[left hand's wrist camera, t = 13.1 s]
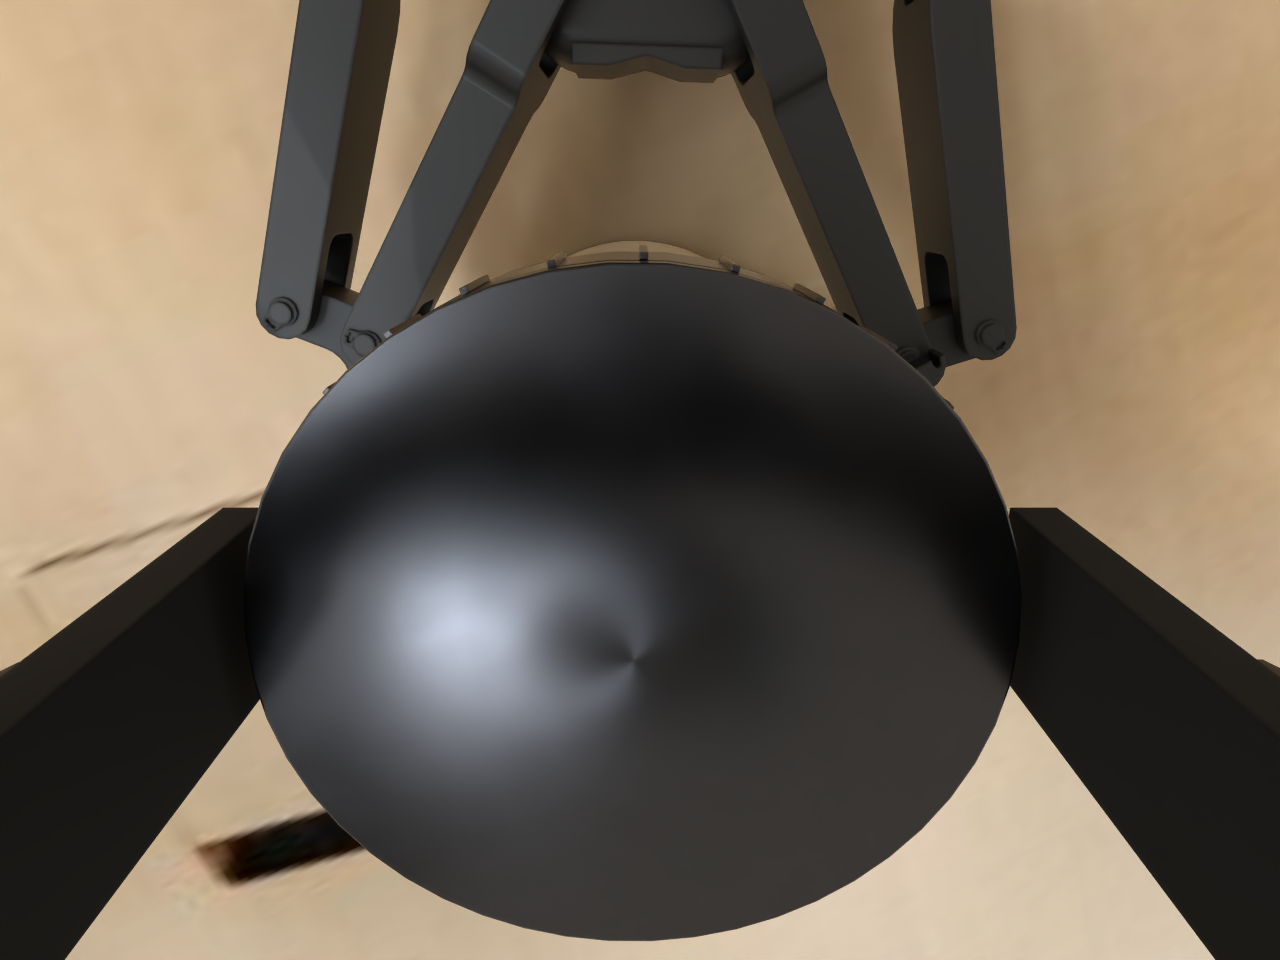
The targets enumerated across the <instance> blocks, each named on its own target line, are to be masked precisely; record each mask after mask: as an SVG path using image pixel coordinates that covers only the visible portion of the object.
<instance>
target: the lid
mask: <svg viewBox="0 0 1280 960" xmlns="http://www.w3.org/2000/svg"><path fill="white" fill-rule="evenodd" d="M459 291H460V293H461V294H460V295H459V296H457V297H455V298H453V299H451V300H450V301H448V302H446V303H444V304H443V305H441V306H439V307H437V308H435V309H434V310H432V311H430V312H429V313H427V314H425V315H424V316H421V315H420V314H417V315H415V316H413V317H412V318H410V319H408V320H406V321H404V322H402V323H401V324H399V325H397V326H395V327H393V328H391V329H389V330H388V331H386V332H385V333H384V334H383V335H384V336H385V338H386V339H385V340H384V341H382V342H381V343H380V344H379V345H377V346H376V347H375V348H374V349H373V350H371V351H370V352H369V353H368V354H366V355H365V356H364V357H363V358H362V359H360V360H359V361H358V362H357V363H355V364H354V365H353V366H352V367H351V368H349V369H348V370H347V371H346V372H345V373H344V374H343V375H342V376H341V377H340V378H339V379H338V380H337V382H335V383H333V384H332V385H330V386H328V387H327V388H326V389H325V390H324V392H323V394H325V395H324V396H323V397H322V398H321V399H320V400H319V401H318V403H317V404H316V405H315V406H314V407H313V408H312V409H311V410H310V412H309V413H308V415H307V416H306V418H305V419H304V421H303V422H302V424H301V425H300V427H299V428H298V430H297V431H296V433H295V434H294V436H293V437H292V439H291V440H290V442H289V443H288V445H287V446H286V448H285V449H284V451H283V452H282V454H281V456H280V459H279V461H278V463H277V465H276V467H275V470H274V472H273V474H272V476H271V478H270V480H269V483H268V485H267V487H266V489H265V491H264V494H263V496H262V498H261V502H260V505H259V509H258V512H257V516H256V520H255V523H254V527H253V530H252V534H251V537H250V541H249V546H248V555H247V563H246V571H245V580H244V588H243V596H244V624H245V638H246V644H247V649H248V654H249V660H250V665H251V670H252V676H253V680H254V683H255V686H256V689H257V691H258V694H259V697H260V700H261V703H262V706H263V709H264V712H265V715H266V718H267V720H268V722H269V724H270V726H271V728H272V730H273V732H274V734H275V736H276V738H277V740H278V742H279V744H280V746H281V748H282V750H283V752H284V754H285V756H286V758H287V759H288V761H289V762H290V764H291V765H292V767H293V768H294V770H295V771H296V772H297V774H298V775H299V777H300V778H301V780H302V781H303V783H304V784H305V786H306V787H307V788H308V790H309V791H310V793H311V794H312V795H313V796H314V797H315V799H316V800H317V801H318V802H319V803H320V804H321V805H322V806H323V808H324V809H325V810H326V811H327V812H328V813H329V814H330V815H331V817H332V818H333V819H334V820H335V821H336V822H337V823H338V824H339V826H341V827H342V828H343V829H344V830H345V831H346V832H347V833H348V834H350V835H351V836H352V837H353V838H354V839H355V840H356V841H357V842H359V843H360V844H361V845H362V846H363V847H364V848H365V849H367V850H368V851H369V852H370V853H371V854H372V855H374V856H375V857H377V858H378V859H380V860H381V861H382V862H384V863H385V864H387V865H388V866H390V867H391V868H392V869H394V870H395V871H397V872H398V873H399V874H401V875H402V876H404V877H405V878H407V879H409V880H410V881H412V882H414V883H416V884H418V885H419V886H421V887H423V888H425V889H427V890H429V891H430V892H432V893H434V894H436V895H438V896H439V897H441V898H443V899H445V900H448V901H450V902H452V903H455V904H457V905H460V906H462V907H464V908H467V909H469V910H471V911H474V912H476V913H479V914H481V915H483V916H487V917H490V918H493V919H496V920H500V921H503V922H506V923H509V924H513V925H516V926H519V927H523V928H527V929H532V930H537V931H542V932H547V933H552V934H557V935H561V936H567V937H577V938H586V939H596V940H606V941H657V940H668V939H679V938H690V937H698V936H703V935H708V934H713V933H719V932H724V931H729V930H734V929H739V928H742V927H745V926H749V925H752V924H756V923H759V922H762V921H766V920H769V919H773V918H776V917H779V916H781V915H784V914H786V913H789V912H791V911H794V910H796V909H798V908H801V907H803V906H806V905H808V904H811V903H813V902H816V901H818V900H820V899H822V898H823V897H825V896H827V895H829V894H831V893H833V892H835V891H837V890H838V889H840V888H842V887H844V886H846V885H848V884H850V883H852V882H853V881H855V880H857V879H858V878H860V877H861V876H862V875H864V874H865V873H867V872H868V871H870V870H871V869H873V868H874V867H876V866H877V865H879V864H880V863H882V862H883V861H884V860H886V859H887V858H889V857H890V856H891V855H893V854H894V853H895V852H896V851H897V850H898V849H900V848H901V847H902V846H903V845H904V844H905V843H906V842H908V841H909V840H910V839H911V838H912V837H913V836H915V835H916V834H917V833H918V832H919V831H920V830H922V829H923V827H924V826H925V825H926V824H927V823H928V822H929V821H930V820H931V819H932V818H933V817H934V815H935V814H936V813H937V812H938V811H939V810H940V809H941V808H942V807H943V806H944V805H945V803H946V802H947V801H948V800H949V799H950V798H951V797H952V795H953V794H954V792H955V791H956V790H957V788H958V787H959V785H960V784H961V783H962V781H963V780H964V778H965V777H966V776H967V774H968V773H969V771H970V770H971V769H972V767H973V766H974V764H975V763H976V761H977V759H978V757H979V755H980V753H981V751H982V750H983V748H984V746H985V744H986V742H987V740H988V738H989V736H990V735H991V733H992V731H993V729H994V727H995V725H996V722H997V719H998V717H999V714H1000V711H1001V709H1002V706H1003V703H1004V700H1005V698H1006V695H1007V692H1008V689H1009V687H1010V683H1011V679H1012V674H1013V669H1014V664H1015V660H1016V655H1017V650H1018V645H1019V637H1020V620H1021V603H1022V594H1021V583H1020V572H1019V562H1018V551H1017V547H1016V543H1015V539H1014V535H1013V531H1012V527H1011V523H1010V519H1009V515H1008V511H1007V508H1006V504H1005V502H1004V500H1003V497H1002V495H1001V493H1000V490H999V488H998V486H997V483H996V481H995V479H994V476H993V474H992V472H991V469H990V467H989V464H988V462H987V460H986V458H985V457H984V455H983V454H982V452H981V450H980V449H979V447H978V446H977V444H976V442H975V441H974V439H973V438H972V436H971V434H970V433H969V431H968V430H967V428H966V426H965V425H964V423H963V422H962V420H961V418H960V417H959V416H958V415H957V414H956V412H955V411H954V410H953V409H954V407H953V406H952V404H951V403H950V402H949V401H947V400H945V399H944V398H943V397H942V396H941V395H940V394H939V393H938V392H937V390H936V389H935V388H934V387H933V386H932V385H931V383H930V382H929V381H928V380H927V379H926V378H925V377H924V376H923V375H922V374H921V373H919V372H918V371H917V370H916V369H915V368H914V367H912V366H911V365H910V364H909V363H908V362H907V361H905V360H904V359H903V358H902V357H901V356H900V355H899V354H897V353H896V352H895V351H896V349H897V348H898V347H897V346H896V345H895V344H894V343H893V342H891V341H889V340H887V339H886V338H884V337H882V336H880V335H879V334H877V333H875V332H873V331H872V330H870V329H868V328H866V327H864V326H863V325H860V327H859V326H858V325H856V324H855V323H853V322H851V321H850V320H848V319H847V318H845V317H844V316H842V315H840V314H839V313H837V312H836V311H834V310H832V309H830V308H829V307H827V306H825V305H823V303H824V301H825V300H826V298H824V297H822V296H820V295H818V294H817V293H815V292H813V291H811V290H809V289H807V288H805V287H804V286H802V285H800V284H798V283H796V284H795V286H794V288H791V287H789V286H787V285H784V284H782V283H780V282H778V281H776V280H773V279H771V278H769V277H767V276H765V275H762V274H760V273H757V272H753V271H750V270H747V269H743V268H741V266H740V265H738V264H737V263H735V262H734V261H732V260H731V259H729V258H728V257H725V256H720V259H719V261H716V260H713V259H706V258H700V257H693V256H686V255H680V254H673V253H667V252H648V249H647V245H639V252H627V251H611V252H603V253H595V254H587V255H579V256H571V257H566V254H565V251H564V252H559V253H557V254H556V255H554V256H553V257H551V258H550V259H549V260H547V261H546V262H544V263H540V264H536V265H533V266H529V267H525V268H521V269H518V270H514V271H512V272H509V273H507V274H505V275H502V276H500V277H498V278H495V279H493V280H491V281H490V279H489V277H488V275H485V276H483V277H481V278H479V279H477V280H475V281H473V282H471V283H469V284H467V285H465V286H464V287H462V288H460V289H459Z"/></svg>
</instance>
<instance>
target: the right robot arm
mask: <svg viewBox="0 0 1280 960" xmlns="http://www.w3.org/2000/svg"><path fill="white" fill-rule="evenodd" d="M399 16H400V0H300V1H299V8H298V15H297V22H296V29H295V36H294V43H293V50H292V57H291V64H290V71H289V78H288V84H287V91H286V98H285V105H284V112H283V119H282V126H281V133H280V140H279V147H278V154H277V161H276V168H275V175H274V182H273V189H272V196H271V203H270V210H269V217H268V224H267V231H266V237H265V244H264V251H263V258H262V265H261V272H260V279H259V286H258V293H257V300H256V314H257V317H258V319H259V321H260V323H261V325H262V326H263V327H264V328H265V329H266V330H267V331H268V333H270V334H272V335H274V336H276V337H278V338H283V339H291V338H295V337H296V338H299V339H302V340H304V341H307V342H310V343H312V344H315V345H318V346H320V347H323V348H326V349H328V350H329V351H331V352H333V353H335V354H336V355H337V356H338V357H339V358H340V359H341V360H342V361H343V362H344V364H345V365H346V367H347V369H349V368H351V367H352V366H353V365H354V364H355V363H357V362H358V361H359V360H360V359H362V358H363V357H364V356H365V355H366V354H368V353H369V352H370V351H371V350H373V349H374V348H375V347H376V346H377V345H379V344H380V343H381V342H382V341H384V340H385V339H386V338H385V336H384V335H383V334H384V333H385V332H386V331H388V330H389V329H391V328H393V327H395V326H397V325H399V324H401V323H402V322H404V321H406V320H408V319H410V318H412V317H413V316H415V315H417V314H420V315H421V316H424V315H425V314H427V313H429V312H430V311H432V310H433V309H434V307H435V305H436V303H437V301H438V299H439V297H440V295H441V293H442V291H443V289H444V288H445V286H446V284H447V282H448V280H449V278H450V276H451V274H452V272H453V270H454V268H455V266H456V264H457V262H458V260H459V258H460V256H461V254H462V252H463V250H464V248H465V246H466V244H467V242H468V240H469V238H470V236H471V234H472V232H473V231H474V229H475V227H476V225H477V223H478V221H479V219H480V217H481V215H482V213H483V211H484V209H485V207H486V205H487V203H488V201H489V199H490V197H491V195H492V193H493V191H494V189H495V187H496V185H497V183H498V181H499V179H500V177H501V176H502V174H503V172H504V170H505V168H506V166H507V164H508V162H509V160H510V158H511V156H512V154H513V152H514V150H515V148H516V146H517V144H518V142H519V140H520V138H521V136H522V134H523V132H524V130H525V128H526V126H527V124H528V122H529V121H530V119H531V117H532V115H533V114H534V113H535V111H536V110H537V109H538V108H539V106H540V105H541V103H542V102H543V100H544V98H545V96H546V94H547V92H548V90H549V88H550V87H551V85H552V83H553V81H554V79H555V77H556V75H557V73H558V71H559V69H560V67H563V68H565V69H567V70H569V71H572V72H575V73H576V74H577V76H578V78H590V79H615V78H618V77H622V76H626V75H630V74H634V73H638V72H641V71H650V72H653V73H656V74H659V75H662V76H665V77H668V78H671V79H674V80H677V81H680V82H701V83H713V82H714V81H715V80H716V78H718V77H722V76H725V75H727V74H729V73H731V74H732V76H733V78H734V81H735V83H736V85H737V87H738V90H739V92H740V94H741V97H742V99H743V101H744V103H745V106H746V108H747V110H748V111H749V113H750V115H751V116H752V118H753V119H754V120H755V122H756V124H757V125H758V127H759V130H760V132H761V134H762V137H763V139H764V141H765V144H766V146H767V148H768V150H769V153H770V155H771V157H772V160H773V162H774V164H775V167H776V169H777V171H778V174H779V176H780V178H781V181H782V183H783V185H784V188H785V190H786V192H787V195H788V197H789V199H790V202H791V204H792V206H793V209H794V211H795V213H796V216H797V218H798V220H799V223H800V225H801V227H802V230H803V232H804V234H805V236H806V239H807V241H808V243H809V246H810V248H811V250H812V253H813V255H814V257H815V260H816V262H817V264H818V267H819V269H820V271H821V274H822V276H823V278H824V281H825V283H826V285H827V288H828V290H829V292H830V295H831V297H832V299H833V302H834V304H835V306H836V309H837V311H838V313H839V314H840V315H842V316H844V317H845V318H847V319H848V320H850V321H851V322H853V323H855V324H856V325H858V326H859V327H860V325H863V326H864V327H866V328H868V329H870V330H872V331H873V332H875V333H877V334H879V335H880V336H882V337H884V338H886V339H887V340H889V341H891V342H893V343H894V344H895V345H896V346H897V347H898V348H897V349H896V351H895V352H896V353H897V354H899V355H900V356H901V357H902V358H903V359H904V360H905V361H907V362H908V363H909V364H910V365H911V366H912V367H914V368H915V369H916V370H917V371H918V372H919V373H921V374H922V375H923V376H924V377H925V378H926V379H927V380H928V381H929V382H930V383H931V385H932V386H933V387H934V386H935V385H937V384H938V382H939V381H940V379H941V378H942V377H943V375H944V371H945V367H948V366H951V365H954V364H957V363H961V362H964V361H967V360H970V359H973V358H978V359H980V360H992V359H995V358H997V357H999V356H1002V355H1003V354H1004V353H1005V352H1006V351H1007V350H1008V349H1009V348H1010V347H1011V345H1012V343H1013V341H1014V339H1015V335H1016V317H1015V304H1014V291H1013V279H1012V266H1011V254H1010V241H1009V228H1008V216H1007V203H1006V191H1005V178H1004V165H1003V153H1002V140H1001V128H1000V115H999V102H998V90H997V77H996V65H995V52H994V39H993V27H992V14H991V2H990V0H894V7H893V46H894V58H895V66H896V75H897V83H898V91H899V100H900V108H901V117H902V125H903V133H904V142H905V150H906V158H907V167H908V175H909V184H910V192H911V200H912V209H913V217H914V226H915V234H916V242H917V251H918V259H919V267H920V276H921V284H922V293H923V301H924V308H922V309H918V310H917V309H916V306H915V304H914V301H913V298H912V296H911V293H910V291H909V288H908V286H907V283H906V281H905V278H904V276H903V273H902V271H901V268H900V266H899V263H898V260H897V258H896V255H895V253H894V250H893V248H892V245H891V243H890V240H889V238H888V235H887V233H886V230H885V228H884V225H883V222H882V220H881V217H880V215H879V212H878V210H877V207H876V205H875V202H874V200H873V197H872V195H871V192H870V190H869V187H868V184H867V182H866V179H865V177H864V174H863V172H862V169H861V167H860V164H859V162H858V159H857V157H856V154H855V152H854V149H853V147H852V144H851V141H850V139H849V136H848V134H847V131H846V129H845V126H844V124H843V121H842V119H841V116H840V114H839V111H838V109H837V106H836V103H835V101H834V98H833V96H832V93H831V91H830V88H829V85H828V80H827V67H826V62H825V58H824V55H823V52H822V49H821V47H820V44H819V42H818V39H817V37H816V34H815V32H814V29H813V26H812V24H811V21H810V19H809V16H808V14H807V11H806V9H805V6H804V4H803V1H802V0H491V1H490V3H489V5H488V7H487V9H486V11H485V13H484V15H483V18H482V20H481V22H480V24H479V26H478V28H477V30H476V32H475V35H474V37H473V39H472V41H471V44H470V46H469V50H468V53H467V58H466V66H465V69H464V72H463V75H462V77H461V79H460V82H459V84H458V86H457V88H456V90H455V92H454V94H453V96H452V98H451V101H450V103H449V105H448V107H447V109H446V111H445V113H444V115H443V117H442V120H441V122H440V124H439V126H438V128H437V130H436V132H435V134H434V136H433V139H432V141H431V143H430V145H429V147H428V149H427V151H426V153H425V155H424V158H423V160H422V162H421V164H420V166H419V168H418V170H417V172H416V175H415V177H414V179H413V181H412V183H411V185H410V187H409V189H408V191H407V194H406V196H405V198H404V200H403V202H402V204H401V206H400V208H399V210H398V213H397V215H396V217H395V219H394V221H393V223H392V225H391V227H390V229H389V232H388V234H387V236H386V238H385V240H384V242H383V244H382V246H381V248H380V251H379V253H378V255H377V257H376V259H375V261H374V263H373V265H372V267H371V270H370V272H369V274H368V276H367V278H366V280H365V282H364V284H363V286H362V289H361V291H360V293H358V292H355V291H353V290H350V288H351V283H352V277H353V272H354V266H355V261H356V256H357V250H358V245H359V239H360V234H361V228H362V223H363V217H364V212H365V207H366V201H367V196H368V190H369V185H370V179H371V174H372V168H373V163H374V158H375V152H376V147H377V141H378V136H379V130H380V125H381V120H382V114H383V109H384V103H385V98H386V92H387V87H388V81H389V76H390V71H391V65H392V60H393V54H394V49H395V43H396V38H397V31H398V24H399Z"/></svg>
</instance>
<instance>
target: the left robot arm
mask: <svg viewBox="0 0 1280 960" xmlns="http://www.w3.org/2000/svg"><path fill="white" fill-rule="evenodd" d="M258 509H259V508H222V509H221V510H220V511H218V512H217V513H216V514H214V515H213V516H212V517H210V518H209V519H208V520H206V521H205V522H204V523H202V524H201V525H200V526H199V527H197V528H196V529H195V530H193V531H192V532H191V533H189V534H188V535H187V536H185V537H184V538H183V539H181V540H180V541H179V542H177V543H176V544H175V545H173V546H172V547H171V548H170V549H168V550H167V551H166V552H164V553H163V554H162V555H160V556H159V557H158V558H156V559H155V560H154V561H152V562H151V563H150V564H148V565H147V566H146V567H144V568H143V569H142V570H141V571H139V572H138V573H137V574H135V575H134V576H133V577H131V578H130V579H129V580H127V581H126V582H125V583H123V584H122V585H121V586H119V587H118V588H117V589H116V590H114V591H113V592H112V593H110V594H109V595H108V596H106V597H105V598H104V599H102V600H101V601H100V602H98V603H97V604H96V605H94V606H93V607H92V608H90V609H89V610H88V611H87V612H85V613H84V614H83V615H81V616H80V617H79V618H77V619H76V620H75V621H73V622H72V623H71V624H69V625H68V626H67V627H65V628H64V629H63V630H61V631H60V632H59V633H58V634H56V635H55V636H54V637H52V638H51V639H50V640H48V641H47V642H46V643H44V644H43V645H42V646H40V647H39V648H38V649H36V650H35V651H34V652H32V653H31V654H30V655H29V656H27V657H26V658H25V659H23V660H22V661H21V662H18V663H16V664H14V665H12V666H10V667H8V668H6V669H4V670H2V671H0V960H65V959H66V957H67V956H68V955H69V953H70V952H71V951H72V949H73V948H74V947H75V945H76V944H77V943H78V941H79V940H80V939H81V937H82V936H83V935H84V933H85V932H86V930H87V929H88V928H89V926H90V925H91V924H92V922H93V921H94V920H95V918H96V917H97V916H98V914H99V913H100V912H101V910H102V909H103V908H104V906H105V905H106V904H107V902H108V901H109V900H110V898H111V897H112V896H113V894H114V893H115V892H116V890H117V889H118V888H119V886H120V885H121V884H122V882H123V881H124V880H125V878H126V877H127V876H128V874H129V873H130V872H131V870H132V869H133V868H134V866H135V865H136V864H137V862H138V861H139V860H140V858H141V857H142V856H143V854H144V853H145V852H146V850H147V849H148V848H149V846H150V845H151V844H152V842H153V841H154V840H155V838H156V837H157V836H158V834H159V833H160V832H161V830H162V829H163V828H164V826H165V825H166V824H167V822H168V821H169V820H170V818H171V817H172V816H173V814H174V813H175V812H176V810H177V809H178V808H179V806H180V805H181V804H182V802H183V801H184V800H185V798H186V797H187V796H188V794H189V793H190V792H191V790H192V789H193V788H194V786H195V785H196V784H197V782H198V781H199V780H200V778H201V777H202V776H203V774H204V773H205V772H206V770H207V769H208V768H209V766H210V765H211V764H212V762H213V761H214V760H215V758H216V757H217V756H218V754H219V753H220V752H221V750H222V749H223V748H224V746H225V745H226V744H227V742H228V741H229V740H230V738H231V737H232V736H233V734H234V733H235V732H236V730H237V729H238V728H239V726H240V725H241V724H242V722H243V721H244V720H245V718H246V717H247V716H248V714H249V713H250V712H251V710H252V709H253V708H254V706H255V705H256V704H257V702H258V701H259V700H260V697H259V694H258V691H257V689H256V686H255V683H254V680H253V676H252V670H251V665H250V660H249V654H248V649H247V644H246V638H245V624H244V596H243V588H244V580H245V571H246V563H247V555H248V546H249V541H250V537H251V534H252V530H253V527H254V523H255V520H256V516H257V512H258ZM1009 519H1010V523H1011V527H1012V531H1013V535H1014V539H1015V543H1016V547H1017V551H1018V562H1019V572H1020V583H1021V594H1022V603H1021V620H1020V637H1019V645H1018V650H1017V655H1016V660H1015V664H1014V669H1013V674H1012V679H1011V683H1010V686H1011V688H1012V689H1013V690H1014V692H1015V693H1016V694H1017V696H1018V697H1019V698H1020V700H1021V701H1022V702H1023V704H1024V705H1025V706H1026V708H1027V709H1028V710H1029V712H1030V713H1031V714H1032V716H1033V717H1034V718H1035V720H1036V721H1037V722H1038V724H1039V725H1040V726H1041V728H1042V729H1043V730H1044V732H1045V733H1046V734H1047V736H1048V737H1049V738H1050V740H1051V741H1052V742H1053V744H1054V745H1055V746H1056V748H1057V749H1058V750H1059V752H1060V753H1061V754H1062V756H1063V757H1064V758H1065V760H1066V761H1067V762H1068V764H1069V765H1070V766H1071V768H1072V769H1073V770H1074V772H1075V773H1076V774H1077V776H1078V777H1079V778H1080V780H1081V781H1082V782H1083V784H1084V785H1085V786H1086V788H1087V789H1088V790H1089V792H1090V793H1091V794H1092V796H1093V797H1094V798H1095V800H1096V801H1097V802H1098V804H1099V805H1100V806H1101V808H1102V809H1103V810H1104V812H1105V813H1106V814H1107V816H1108V817H1109V818H1110V820H1111V821H1112V822H1113V824H1114V825H1115V826H1116V828H1117V829H1118V830H1119V832H1120V833H1121V834H1122V836H1123V837H1124V838H1125V840H1126V841H1127V842H1128V844H1129V845H1130V846H1131V848H1132V849H1133V850H1134V852H1135V853H1136V854H1137V856H1138V857H1139V858H1140V860H1141V861H1142V862H1143V864H1144V865H1145V866H1146V868H1147V869H1148V870H1149V872H1150V873H1151V874H1152V876H1153V877H1154V878H1155V880H1156V881H1157V882H1158V884H1159V885H1160V886H1161V888H1162V889H1163V890H1164V892H1165V893H1166V894H1167V896H1168V897H1169V898H1170V900H1171V901H1172V902H1173V904H1174V905H1175V906H1176V908H1177V909H1178V910H1179V912H1180V913H1181V914H1182V916H1183V917H1184V918H1185V920H1186V921H1187V922H1188V924H1189V925H1190V926H1191V928H1192V929H1193V930H1194V932H1195V933H1196V935H1197V936H1198V937H1199V939H1200V940H1201V941H1202V943H1203V944H1204V945H1205V947H1206V948H1207V949H1208V951H1209V952H1210V953H1211V955H1212V956H1213V957H1214V959H1215V960H1280V668H1279V667H1277V666H1275V665H1273V664H1271V663H1269V662H1266V661H1264V660H1257V659H1255V658H1254V657H1253V656H1251V655H1250V654H1249V653H1248V652H1246V651H1245V650H1244V649H1242V648H1241V647H1240V646H1238V645H1237V644H1236V643H1234V642H1233V641H1232V640H1230V639H1229V638H1228V637H1226V636H1225V635H1224V634H1222V633H1221V632H1220V631H1219V630H1217V629H1216V628H1215V627H1213V626H1212V625H1211V624H1209V623H1208V622H1207V621H1205V620H1204V619H1203V618H1201V617H1200V616H1199V615H1197V614H1196V613H1195V612H1193V611H1192V610H1191V609H1190V608H1188V607H1187V606H1186V605H1184V604H1183V603H1182V602H1180V601H1179V600H1178V599H1176V598H1175V597H1174V596H1172V595H1171V594H1170V593H1168V592H1167V591H1166V590H1164V589H1163V588H1162V587H1161V586H1159V585H1158V584H1157V583H1155V582H1154V581H1153V580H1151V579H1150V578H1149V577H1147V576H1146V575H1145V574H1143V573H1142V572H1141V571H1139V570H1138V569H1137V568H1136V567H1134V566H1133V565H1132V564H1130V563H1129V562H1128V561H1126V560H1125V559H1124V558H1122V557H1121V556H1120V555H1118V554H1117V553H1116V552H1114V551H1113V550H1112V549H1110V548H1109V547H1108V546H1107V545H1105V544H1104V543H1103V542H1101V541H1100V540H1099V539H1097V538H1096V537H1095V536H1093V535H1092V534H1091V533H1089V532H1088V531H1087V530H1085V529H1084V528H1083V527H1081V526H1080V525H1079V524H1078V523H1076V522H1075V521H1074V520H1072V519H1071V518H1070V517H1068V516H1067V515H1066V514H1064V513H1063V512H1062V511H1060V510H1059V509H1058V508H1010V512H1009Z"/></svg>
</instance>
